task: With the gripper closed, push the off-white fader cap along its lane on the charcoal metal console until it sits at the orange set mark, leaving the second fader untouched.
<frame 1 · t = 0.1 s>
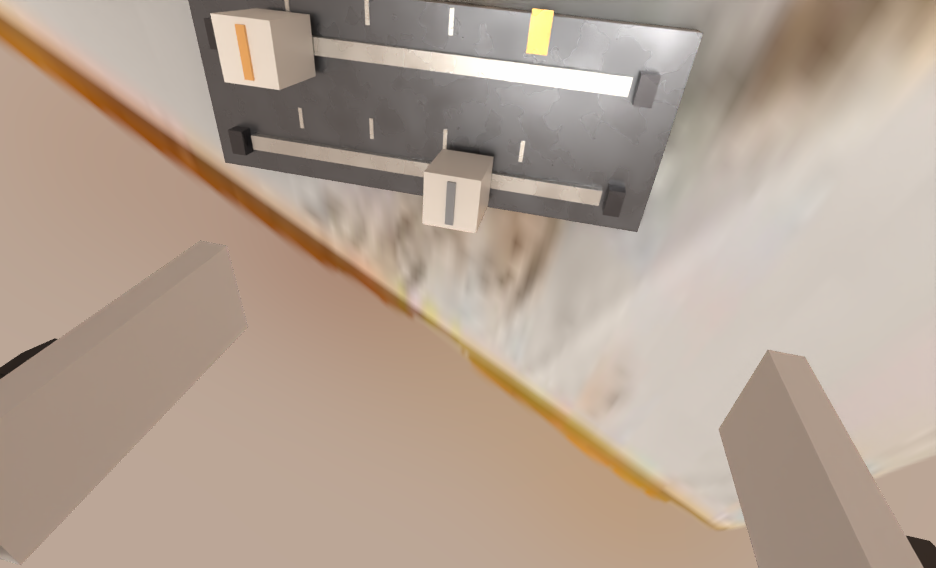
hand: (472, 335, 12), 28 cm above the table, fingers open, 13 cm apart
fader a: (267, 47, 31), point 5 cm above the table, slide at 2.0 cm
console: (428, 103, 36), on the table
fader b: (458, 190, 34), point 5 cm above the table, slide at 16.0 cm
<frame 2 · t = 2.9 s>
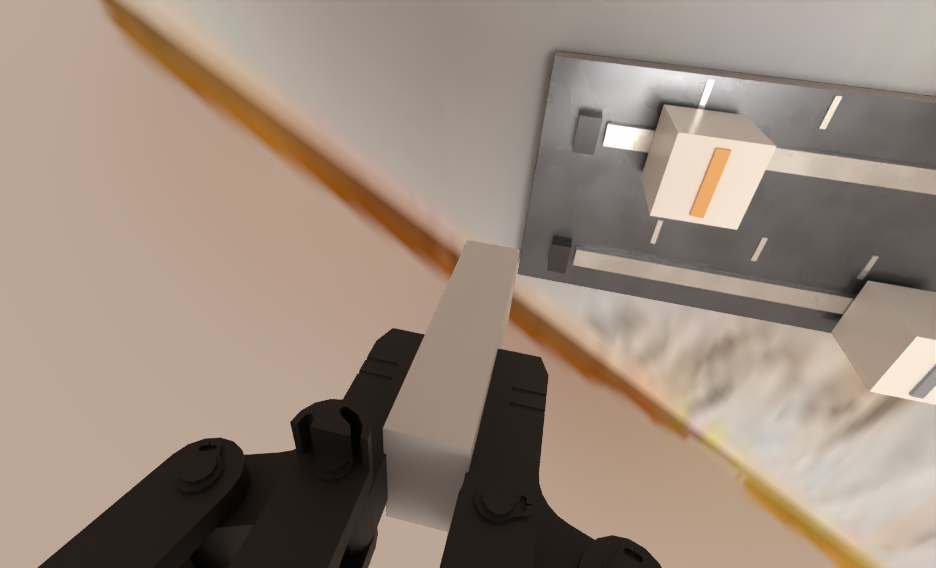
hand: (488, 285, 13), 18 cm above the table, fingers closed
fader a: (699, 164, 23), point 5 cm above the table, slide at 2.0 cm
console: (834, 215, 28), on the table
fader b: (908, 342, 25), point 5 cm above the table, slide at 16.0 cm
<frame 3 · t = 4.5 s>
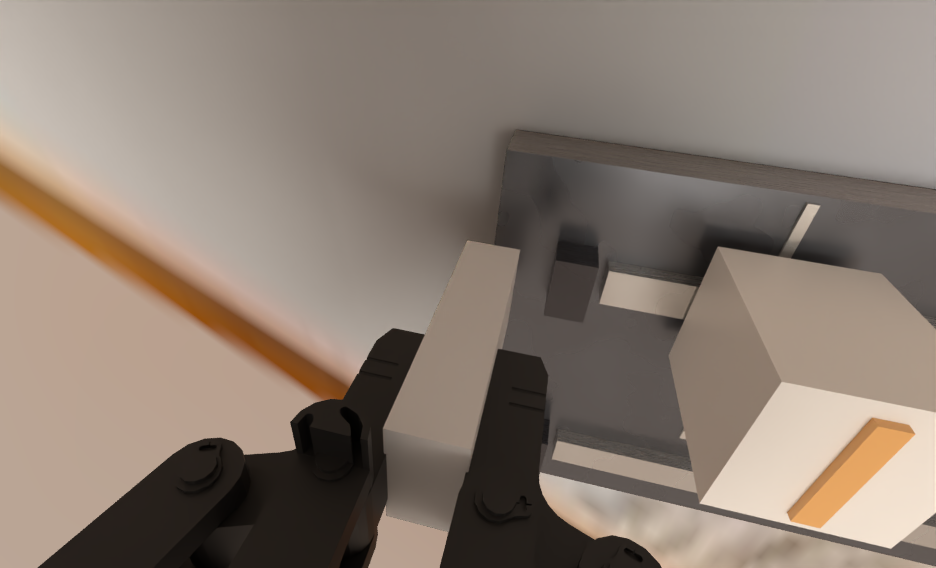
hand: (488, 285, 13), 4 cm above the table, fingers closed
fader a: (797, 385, 11), point 5 cm above the table, slide at 2.0 cm
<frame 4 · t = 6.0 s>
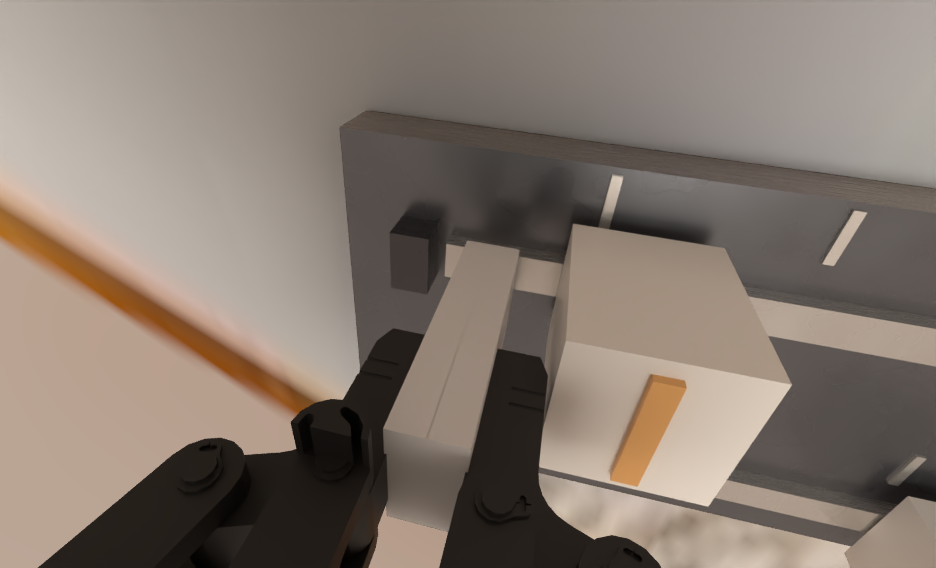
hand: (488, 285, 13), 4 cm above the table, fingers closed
fader a: (634, 353, 12), point 5 cm above the table, slide at 3.1 cm, touching gripper
console: (847, 375, 17), on the table
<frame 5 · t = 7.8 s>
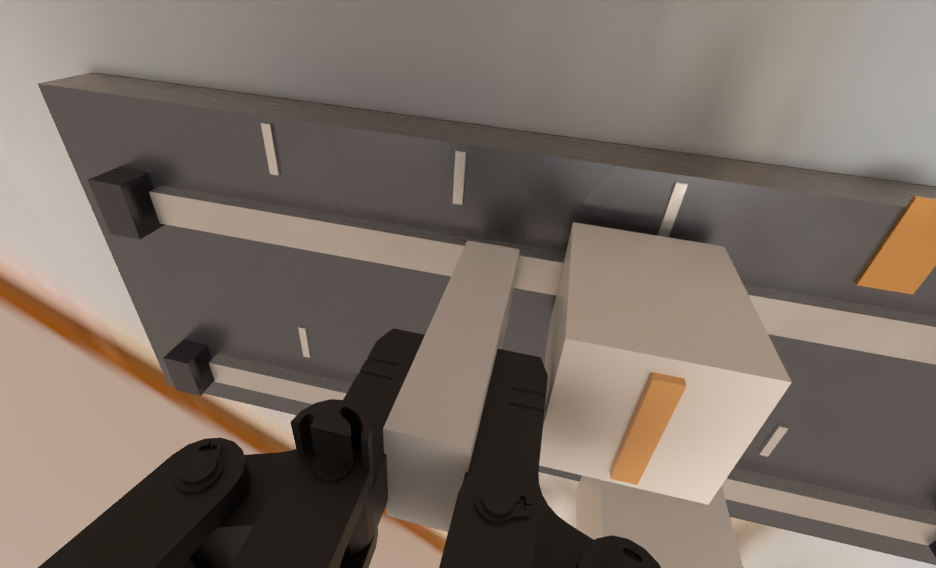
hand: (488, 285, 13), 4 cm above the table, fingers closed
fader a: (634, 352, 12), point 5 cm above the table, slide at 13.4 cm, touching gripper
console: (561, 320, 18), on the table
fader b: (646, 538, 16), point 5 cm above the table, slide at 16.0 cm
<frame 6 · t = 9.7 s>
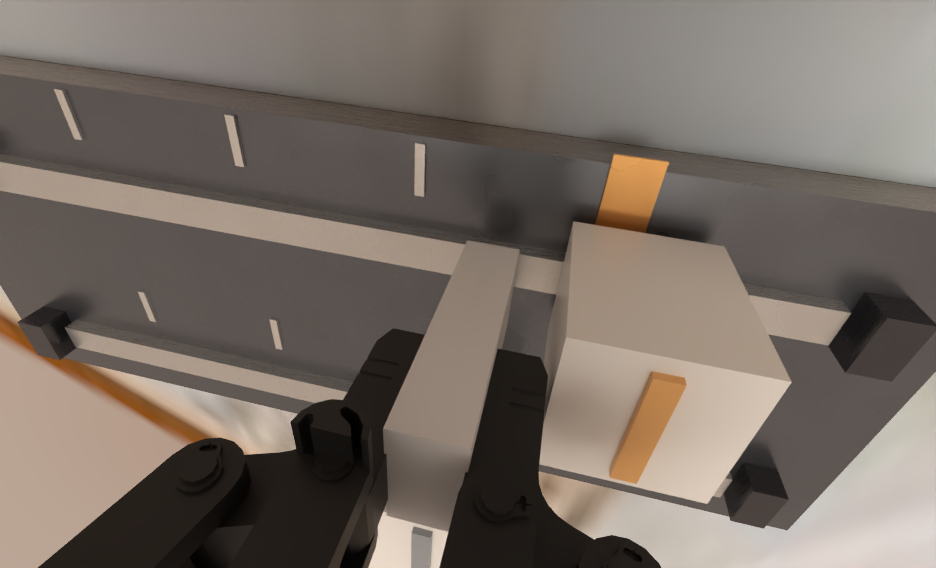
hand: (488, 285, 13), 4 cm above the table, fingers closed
fader a: (634, 351, 12), point 5 cm above the table, slide at 20.6 cm, touching gripper
console: (385, 285, 19), on the table
fader b: (441, 486, 17), point 5 cm above the table, slide at 16.0 cm
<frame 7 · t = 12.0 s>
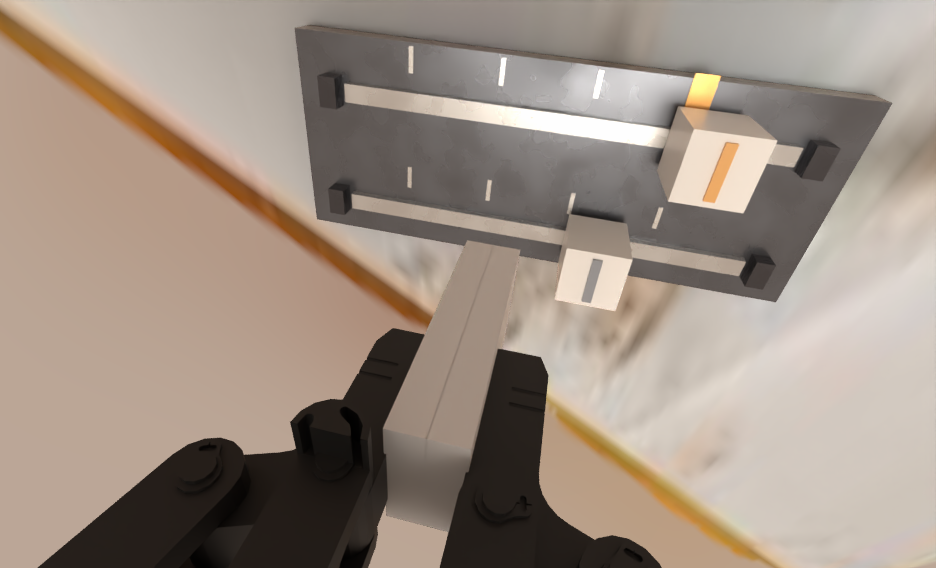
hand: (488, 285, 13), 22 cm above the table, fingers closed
fader a: (709, 158, 26), point 5 cm above the table, slide at 20.8 cm
console: (550, 162, 34), on the table
fader b: (591, 261, 31), point 5 cm above the table, slide at 16.0 cm
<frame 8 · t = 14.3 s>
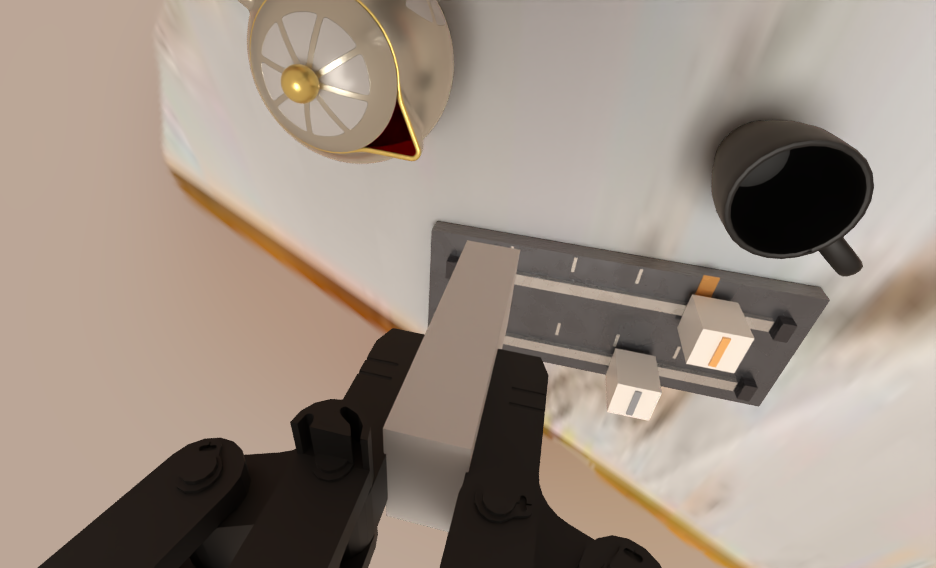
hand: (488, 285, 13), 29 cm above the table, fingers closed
fader a: (712, 333, 41), point 5 cm above the table, slide at 20.8 cm
console: (600, 309, 48), on the table
mug: (764, 171, 38), on the table
teapot: (380, 33, 38), on the table
fader b: (631, 384, 46), point 5 cm above the table, slide at 16.0 cm
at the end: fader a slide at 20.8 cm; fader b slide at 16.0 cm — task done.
